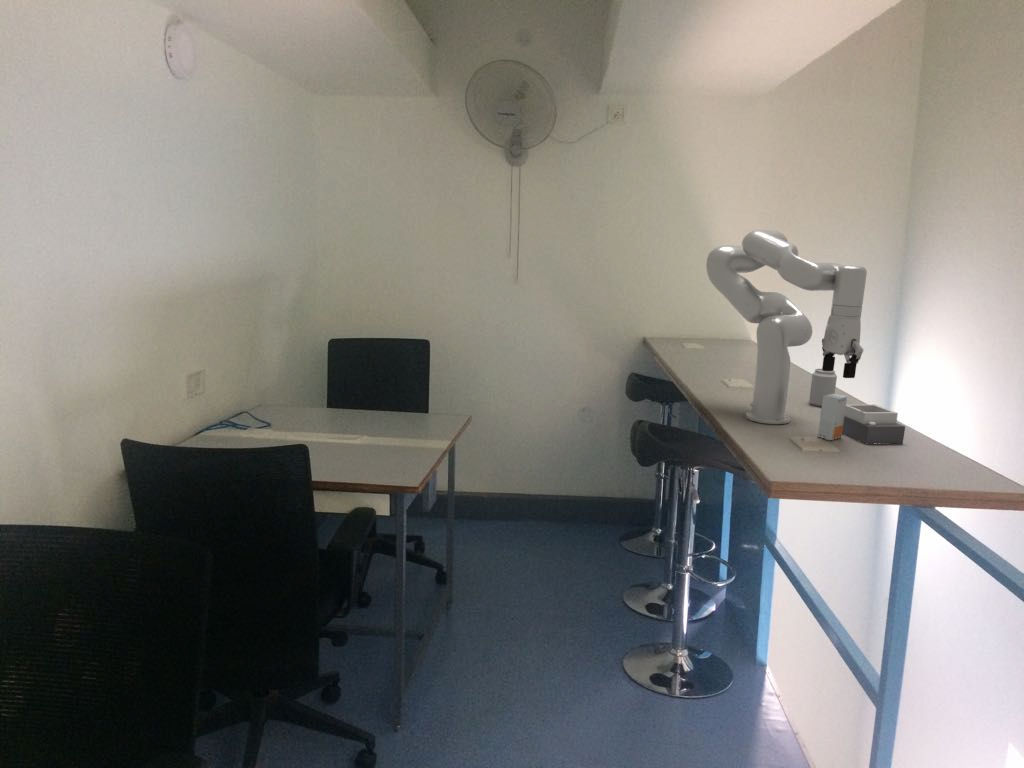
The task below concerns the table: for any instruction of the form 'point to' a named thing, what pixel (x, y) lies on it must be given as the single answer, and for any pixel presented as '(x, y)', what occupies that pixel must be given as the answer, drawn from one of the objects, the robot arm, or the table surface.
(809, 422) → the table surface
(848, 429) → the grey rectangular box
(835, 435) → the skincare box
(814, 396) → the can
